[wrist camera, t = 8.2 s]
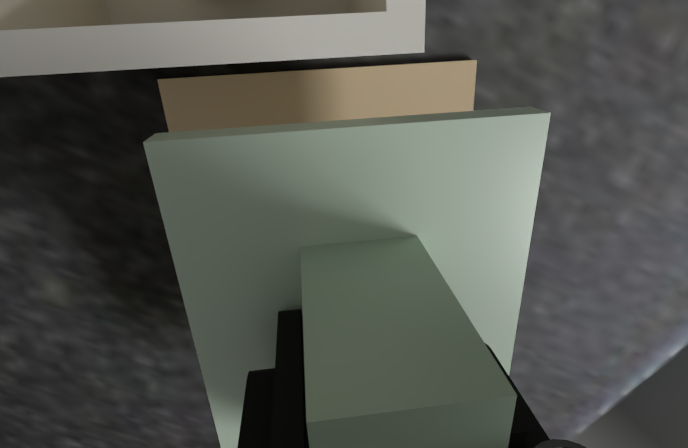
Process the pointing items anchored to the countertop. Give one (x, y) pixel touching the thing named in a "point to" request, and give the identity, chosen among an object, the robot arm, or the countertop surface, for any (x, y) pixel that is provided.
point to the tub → (198, 32)
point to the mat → (317, 95)
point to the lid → (359, 266)
